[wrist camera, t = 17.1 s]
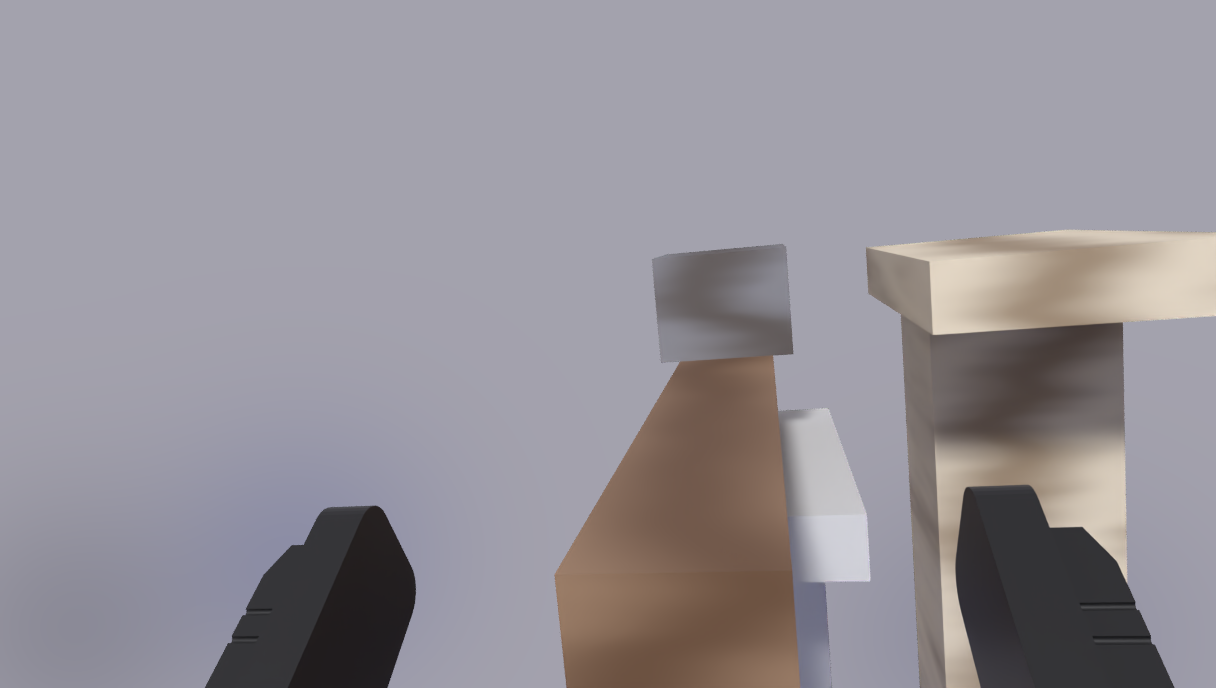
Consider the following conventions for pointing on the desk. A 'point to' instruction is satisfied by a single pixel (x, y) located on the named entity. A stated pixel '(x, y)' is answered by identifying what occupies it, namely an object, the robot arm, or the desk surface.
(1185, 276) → the tall stand
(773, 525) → the hammer
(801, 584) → the white pedestal
